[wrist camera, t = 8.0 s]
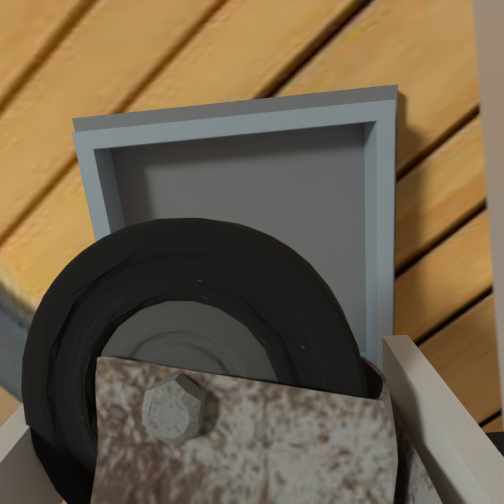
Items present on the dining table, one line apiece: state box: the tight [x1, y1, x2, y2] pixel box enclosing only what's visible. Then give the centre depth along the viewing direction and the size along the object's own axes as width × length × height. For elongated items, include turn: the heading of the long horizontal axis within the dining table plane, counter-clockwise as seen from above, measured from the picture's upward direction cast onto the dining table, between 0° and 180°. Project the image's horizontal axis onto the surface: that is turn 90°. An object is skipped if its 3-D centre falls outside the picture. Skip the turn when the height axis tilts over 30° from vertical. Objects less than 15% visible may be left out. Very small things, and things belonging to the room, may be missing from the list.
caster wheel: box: [21, 218, 442, 504], centre depth 9 cm, size 7×11×10 cm
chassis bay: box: [72, 85, 398, 372], centre depth 25 cm, size 20×20×4 cm
